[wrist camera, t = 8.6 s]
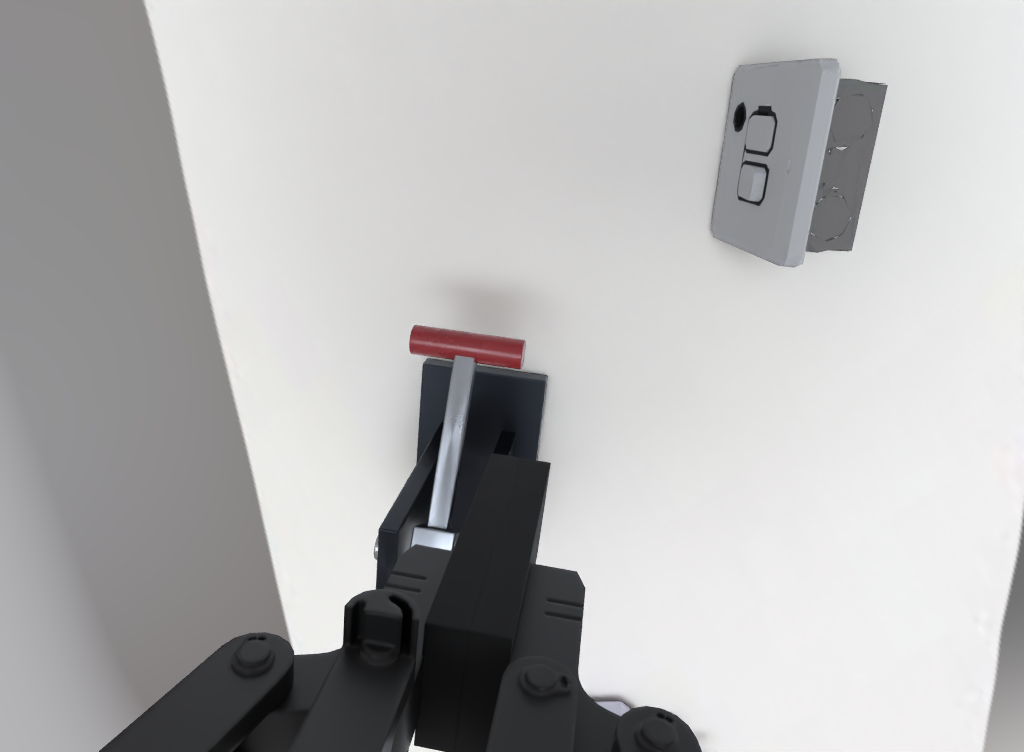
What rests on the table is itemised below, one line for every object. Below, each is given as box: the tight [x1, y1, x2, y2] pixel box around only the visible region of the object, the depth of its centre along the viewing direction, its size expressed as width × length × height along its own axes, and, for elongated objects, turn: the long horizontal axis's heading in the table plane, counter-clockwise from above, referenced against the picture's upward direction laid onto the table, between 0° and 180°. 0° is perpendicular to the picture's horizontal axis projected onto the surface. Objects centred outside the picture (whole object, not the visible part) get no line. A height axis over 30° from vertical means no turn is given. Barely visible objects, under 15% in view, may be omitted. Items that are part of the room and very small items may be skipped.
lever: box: [409, 325, 526, 551], centre depth 39 cm, size 13×6×2 cm, turn 174°
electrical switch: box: [711, 59, 887, 267], centre depth 38 cm, size 9×5×9 cm, turn 176°
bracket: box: [374, 359, 548, 589], centre depth 44 cm, size 12×8×15 cm, turn 174°
